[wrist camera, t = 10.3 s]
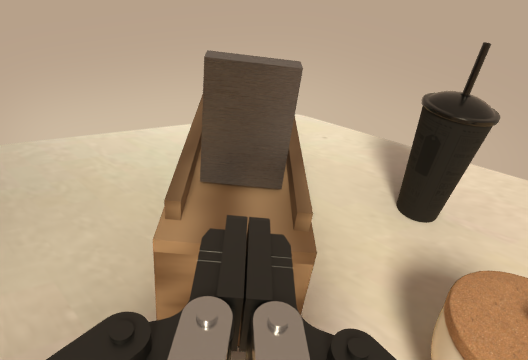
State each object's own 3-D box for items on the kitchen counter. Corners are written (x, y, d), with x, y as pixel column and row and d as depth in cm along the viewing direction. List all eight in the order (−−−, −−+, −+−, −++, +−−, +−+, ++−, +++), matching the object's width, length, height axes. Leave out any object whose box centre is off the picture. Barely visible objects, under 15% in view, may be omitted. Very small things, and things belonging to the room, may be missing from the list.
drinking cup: (456, 236, 44) (547, 60, 33) (389, 223, 44) (458, 46, 33) (440, 198, 50) (512, 40, 39) (382, 187, 50) (437, 29, 40)
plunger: (199, 183, 28) (204, 56, 23) (221, 95, 43) (226, 7, 38) (281, 191, 28) (302, 68, 23) (273, 101, 44) (285, 15, 39)
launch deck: (157, 341, 28) (151, 219, 22) (200, 171, 48) (203, 83, 42) (291, 349, 29) (321, 234, 23) (278, 179, 49) (292, 93, 43)
